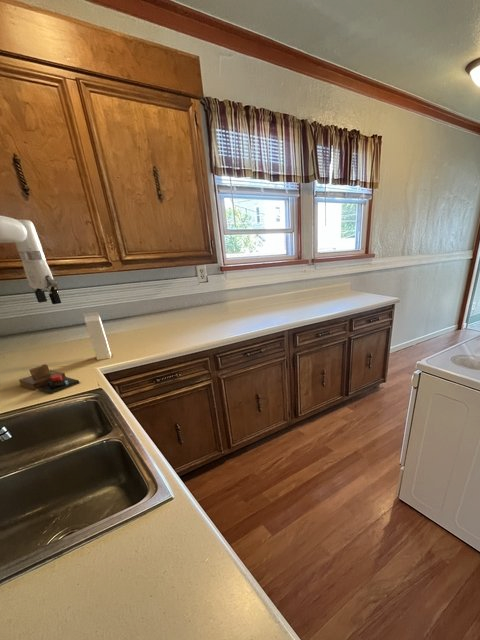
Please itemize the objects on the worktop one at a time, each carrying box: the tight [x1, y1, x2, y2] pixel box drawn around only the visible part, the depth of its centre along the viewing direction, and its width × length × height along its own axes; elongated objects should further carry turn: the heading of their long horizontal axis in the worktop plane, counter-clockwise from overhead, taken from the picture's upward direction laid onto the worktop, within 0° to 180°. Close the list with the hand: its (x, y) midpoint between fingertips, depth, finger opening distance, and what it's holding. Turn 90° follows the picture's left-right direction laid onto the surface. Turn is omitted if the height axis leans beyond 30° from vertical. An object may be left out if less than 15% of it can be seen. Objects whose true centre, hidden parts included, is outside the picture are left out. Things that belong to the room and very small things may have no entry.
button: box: [50, 375, 63, 382], centre depth 128 cm, size 4×4×2 cm
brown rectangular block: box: [28, 363, 51, 379], centre depth 131 cm, size 6×2×4 cm, turn 154°
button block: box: [38, 375, 80, 395], centre depth 129 cm, size 11×8×4 cm
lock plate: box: [18, 369, 67, 391], centre depth 133 cm, size 12×10×3 cm
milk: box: [83, 311, 112, 361], centre depth 156 cm, size 6×6×22 cm
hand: (49, 302), depth 131 cm, fingers open, 9 cm apart
